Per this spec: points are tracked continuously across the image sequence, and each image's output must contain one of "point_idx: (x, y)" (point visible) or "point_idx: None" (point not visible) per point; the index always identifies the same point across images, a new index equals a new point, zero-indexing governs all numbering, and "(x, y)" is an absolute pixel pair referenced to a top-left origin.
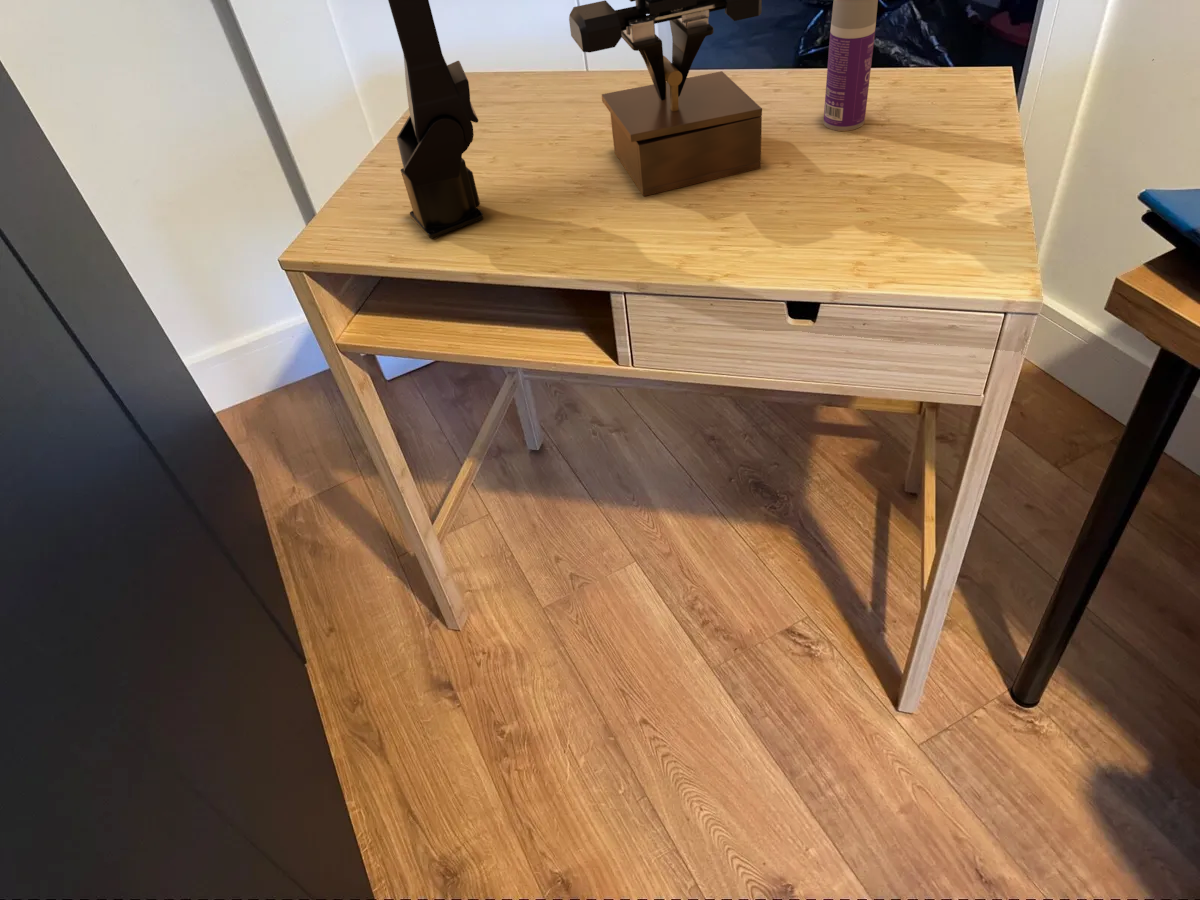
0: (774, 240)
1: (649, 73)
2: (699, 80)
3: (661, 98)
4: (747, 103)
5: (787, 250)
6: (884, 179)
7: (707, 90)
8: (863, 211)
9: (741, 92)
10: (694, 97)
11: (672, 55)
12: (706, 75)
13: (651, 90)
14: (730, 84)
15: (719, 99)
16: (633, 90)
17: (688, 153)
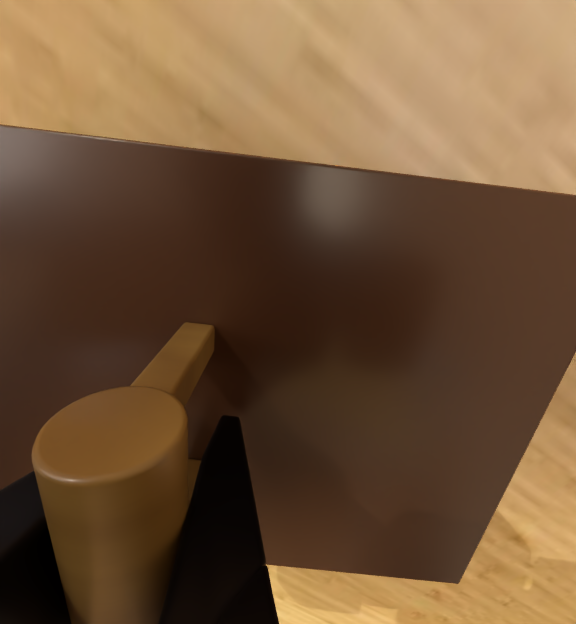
0: (284, 587)
1: (15, 484)
2: (456, 258)
3: None
4: (449, 542)
5: (286, 606)
6: (536, 561)
7: (408, 386)
8: (434, 597)
9: (502, 471)
10: (321, 415)
11: (162, 613)
12: (533, 216)
13: (170, 236)
14: (532, 387)
15: (392, 478)
16: (71, 175)
17: None
